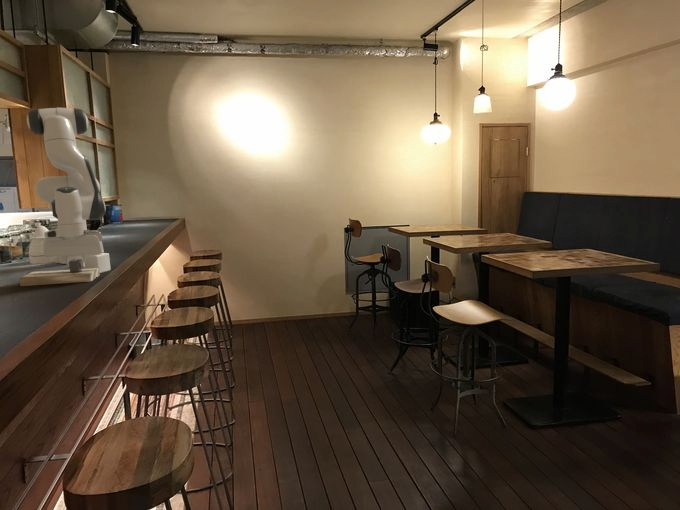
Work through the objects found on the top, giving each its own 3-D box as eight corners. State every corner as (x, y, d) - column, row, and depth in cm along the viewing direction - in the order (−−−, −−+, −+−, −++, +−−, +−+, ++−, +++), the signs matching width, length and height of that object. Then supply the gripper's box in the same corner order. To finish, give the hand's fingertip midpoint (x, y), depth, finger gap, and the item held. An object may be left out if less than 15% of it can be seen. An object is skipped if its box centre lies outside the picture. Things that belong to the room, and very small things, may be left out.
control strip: (34, 279, 197) (33, 271, 196) (100, 275, 201) (99, 267, 200) (20, 286, 185) (19, 277, 184) (90, 281, 189) (89, 273, 188)
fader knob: (74, 269, 195) (73, 259, 195) (82, 269, 196) (81, 258, 195) (70, 272, 190) (68, 261, 190) (78, 271, 191) (77, 260, 190)
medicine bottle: (111, 270, 210) (108, 241, 208) (98, 273, 204) (95, 244, 201) (96, 269, 212) (93, 241, 210) (84, 273, 205) (80, 243, 203)
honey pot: (23, 263, 234) (17, 224, 231) (46, 258, 246) (41, 221, 243) (45, 264, 230) (39, 224, 227) (67, 259, 242) (62, 221, 239)
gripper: (103, 228, 195) (107, 264, 198) (46, 231, 192) (50, 267, 194) (98, 230, 189) (102, 267, 192) (39, 233, 186) (44, 270, 188)
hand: (76, 267), depth 193 cm, fingers closed on fader knob, 3 cm apart
